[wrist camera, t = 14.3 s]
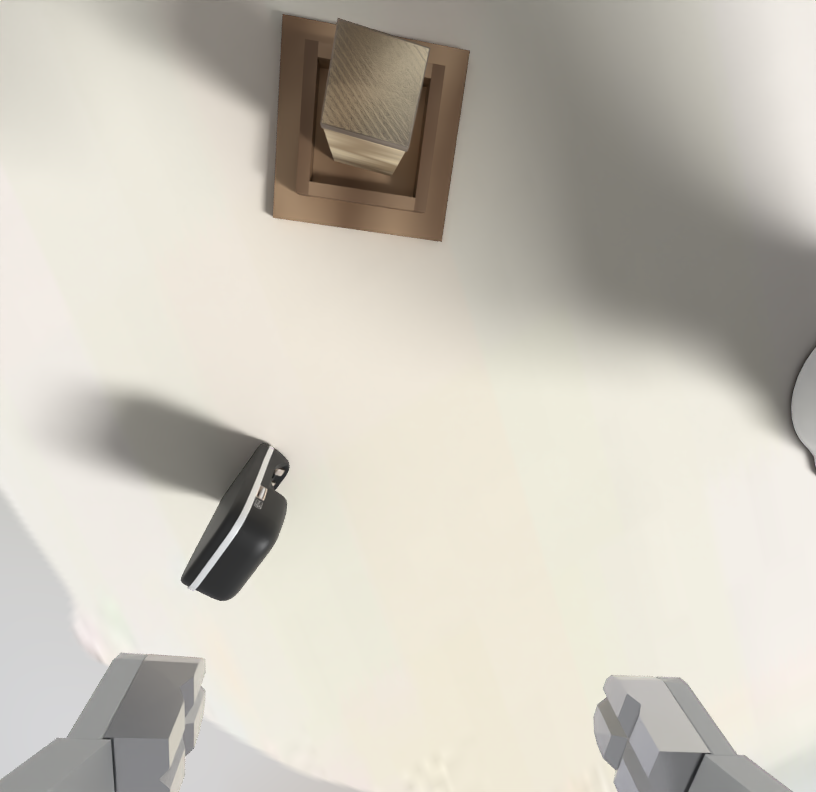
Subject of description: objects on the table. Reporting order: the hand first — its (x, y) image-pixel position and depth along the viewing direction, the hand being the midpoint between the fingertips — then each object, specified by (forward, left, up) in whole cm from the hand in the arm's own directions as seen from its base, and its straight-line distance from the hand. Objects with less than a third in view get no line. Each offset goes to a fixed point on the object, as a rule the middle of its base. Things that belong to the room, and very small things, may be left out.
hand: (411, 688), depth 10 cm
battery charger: (+8, +12, -30) cm, 34 cm away
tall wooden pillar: (+2, -15, -29) cm, 33 cm away
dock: (+2, -15, -30) cm, 34 cm away
